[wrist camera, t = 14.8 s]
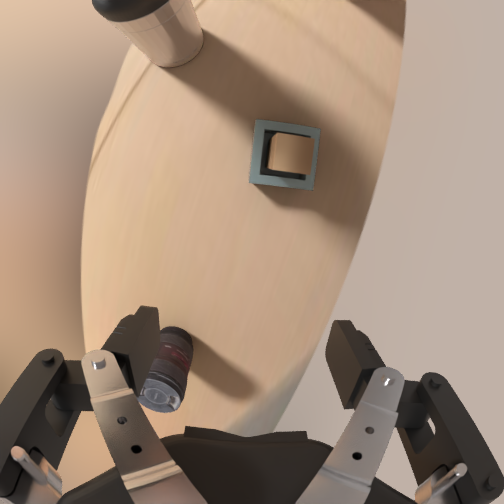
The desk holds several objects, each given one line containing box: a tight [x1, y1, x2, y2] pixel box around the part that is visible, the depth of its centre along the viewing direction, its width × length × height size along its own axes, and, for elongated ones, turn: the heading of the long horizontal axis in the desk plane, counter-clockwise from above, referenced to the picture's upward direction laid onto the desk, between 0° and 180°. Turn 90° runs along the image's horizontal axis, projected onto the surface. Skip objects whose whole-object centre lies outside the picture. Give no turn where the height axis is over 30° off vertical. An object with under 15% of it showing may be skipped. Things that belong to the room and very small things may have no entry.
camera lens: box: [136, 327, 193, 413], centre depth 42 cm, size 8×8×15 cm
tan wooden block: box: [266, 133, 315, 175], centre depth 33 cm, size 4×4×11 cm
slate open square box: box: [249, 119, 321, 191], centre depth 36 cm, size 8×8×6 cm
